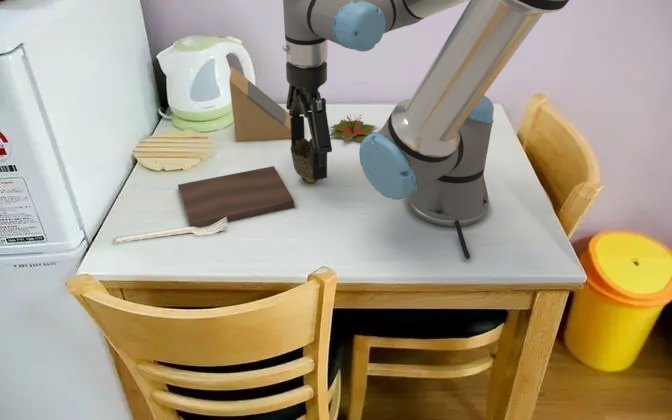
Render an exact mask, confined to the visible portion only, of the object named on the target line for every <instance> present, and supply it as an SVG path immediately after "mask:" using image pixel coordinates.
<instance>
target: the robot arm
mask: <svg viewBox="0 0 672 420" xmlns="http://www.w3.org/2000/svg"><path fill="white" fill-rule="evenodd" d="M466 2H468V3H467V5H466V7H465V8H464V10H463V12H462V13H461V15H460V17H459V18H458V20H457V22H456V23H455V25H454V26H453V28H452V30H451V32H450V33H449V35H448V37H447V38H446V40H445V42H444V43H443V45H442V47H441V48H440V50H439V52H438V53H437V55H436V57H435V58H434V60H433V61H432V64H430V67H429V68H428V70H427V72H425V75H424V77H423V78H422V80H421V82H420V83H419V85H418V87H417V88H416V89H415V91H414V93H413V95H412V96H411V98H407V99H403V100H402V101H400V102H398V103H397V104H396V105H395V107H394V108H393V109H392V111H391V113H390V115H389V116H388V118H387V119H386V121H385V123H384V124H383V126H382V127H381V128H380V129H379V130H378V131H373V133H371V134H368V135H367V136H366V138H365V139H364V140H363V141H361V143H360V145H359V151H358V156H359V161H360V165H361V168H362V172H363V174H364V175H365V177H366V179H367V180H368V182H369V183H370V185H371V186H372V187H373V188H374V189H375V190H376V191H377V192H378V193H380V195H382V196H384V197H386V198H388V199H391V200H396V201H397V200H403V199H405V198H407V204H408V208H409V210H410V211H411V212H412V214H414V215H415V216H416V217H417V218H418V219H420V220H422V221H424V222H426V223H428V224H431V225H434V226H438V227H443V228H455V229H456V234H457V237H458V241H459V244H460V247H461V250H462V252H463V256H464V258H465V259H466V260H469V259H470V258H471V255H470V252H469V249H468V247H467V244H466V243H467V242H466V241H465V236H464V232H463V230H462V228H464V227H470V226H473V225H475V224H477V223H479V222H481V221H482V220H483V219H484V218H485V217H486V216H487V213H488V209H489V204H490V201H489V200H490V199H489V193H488V189H487V184H486V179H485V168H486V163H487V157H488V151H489V146H490V140H491V133H492V127H493V124H494V121H495V120H494V110H495V106H494V104H493V102H492V100H491V99H490V98H488V96H486V95H485V94H486V93H487V92H488V91H489V89H490V87H491V86H492V84H493V83H494V82H495V81H496V79H497V78H498V76H499V75H500V74H501V73H502V71H503V69H504V68H505V67H506V66H507V64H508V63H509V61H510V60H511V59H512V57H513V56H514V55H515V53H516V52H517V51H518V49H519V48H520V46H521V45H522V44H523V43H524V41H525V39H526V38H527V37H528V36H529V34H530V33H531V32H532V30H533V29H534V27H535V26H536V25H537V23H538V22H539V20H540V19H541V18H542V16H543V15H544V14H549V13H550V14H551V13H556V12H559V11H562V10H563V9H564V8H565V6H567V4H568V3H569V2H570V0H282V5H283V6H282V7H283V28H284V41H285V44H284V45H283V46H282V51H283V52H285V60H286V63H285V75H286V82H287V83H288V84H289V86H288V92H287V99H286V104H285V105H286V106H285V107H286V111H288V113H289V115H290V116H292V118H290V122H291V139H290V146H291V145H293V147H294V146H296V141H297V140H298V141H299V142H300V141H301V140H302V139H303V138H305V118H306V120H307V124H308V128H309V132H310V137H311V138H312V142H313V146H314V149H312V150H311V153H312V171H313V180H318V179H319V180H323V179H327V178H328V153H332V152H333V146H332V141H331V136H330V134H331V132H330V126H329V122H328V114H327V100H326V98H325V97H321V92H320V91H319V89H320V87H321V86H323V85H324V84H326V82H327V81H328V62H327V60H328V41H330V42H332V43H335V44H336V45H339V46H341V47H343V48H345V49H348V50H354V51H358V52H368V51H371V50H373V49H374V48H375V46H376V45H377V44H379V43H380V42H381V40H382V38H383V36H384V34H387V33H389V32H392V31H395V30H398V29H401V28H404V27H408V26H411V25H414V24H417V23H419V22H421V21H422V20H424V19H426V18H429V17H432V16H434V15H436V14H439V13H441V12H444V11H446V10H448V9H450V8H453V7H456V6H459V5H461V4H464V3H466ZM319 180H318V181H319Z"/></svg>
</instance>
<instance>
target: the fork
mask: <svg viewBox="0 0 672 420" xmlns="http://www.w3.org/2000/svg"><path fill="white" fill-rule="evenodd" d="M226 218H227V217H225V218H223V219H221V220H220V221H218V222H216V223H214V224H212V225H209V226H206V227H201V228H198V227H194V226H192V227H190V226H188V227H187V226H186V227H181V228H174V229H167V230H161V231H155V232H149V233H142V234H136V235H130V236H123V237H117V238H116V239H115V244H117V243H118V244H119V243H126V242H132V241H140V240H146V239H155V238H161V237H168V236H169V237H170V236H176V235H182V234H189V233H191V234H194V235H195V236H204V235H206V236H207V235H214V234H217V233H218V232H220V231H222V230H223V229H224V228H226V227H227V226H228V225H229V224H228V222H227V221H226V220H227V219H226ZM224 219H226V220H224ZM223 220H224V221H223ZM225 221H226V222H225ZM218 223H219V224H218Z"/></svg>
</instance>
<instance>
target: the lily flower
mask: <svg viewBox="0 0 672 420" xmlns="http://www.w3.org/2000/svg"><path fill="white" fill-rule="evenodd" d="M361 116H362V114H359V115H358V118H357V116H356V115H355V114H354V115H353V117H354V119H353V120H352V118H351V117H352V114H349V115H346V119H347V120H346V119H345V118H343V119H340V121H339V123H336V124H334V125H332V126H330V128H331V129H334V130H333V131H331V132H330V137H339V138H340V137H341V138H342V139H343V142H344V143H346V142H348V141H349V140H351V139H353V140H356V141H359V142H362V141H363V140H364V139H365V138H366V137H367V136H366V135H369V134H371V133H373V132H374V131H373V129H374V128H375V127H376V125H373V124H367V123H365V124H364V121H361V119H362V117H361Z"/></svg>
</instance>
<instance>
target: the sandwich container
mask: <svg viewBox="0 0 672 420" xmlns="http://www.w3.org/2000/svg"><path fill="white" fill-rule="evenodd" d="M228 83H229V92H230V101H231V110H232V117H233V118H232V119H233V126H234V134H235V142H251V141H252V142H253V141H254V142H255V141H272V140H273V141H274V140H275V141H276V140H291V122H290V118H292V116H290V115H289V111H288V110H286V109H284V108H283V107H282V106H280V105H279V104H278V103H277V102H276V101H274V100H273V99H272V98H271V97H270V96H268V95H267V94H266V93H264V91H262V90H261V89H260V88H259V87H258V86H256V85H255V84H254V83H252V81H250V80H249V79H248V78H247V77H245V76H244V75H243V74H242V73H241V72H240V71H239V70H237V69H236V68H235V67H234V66H230V75H229V79H228Z"/></svg>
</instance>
